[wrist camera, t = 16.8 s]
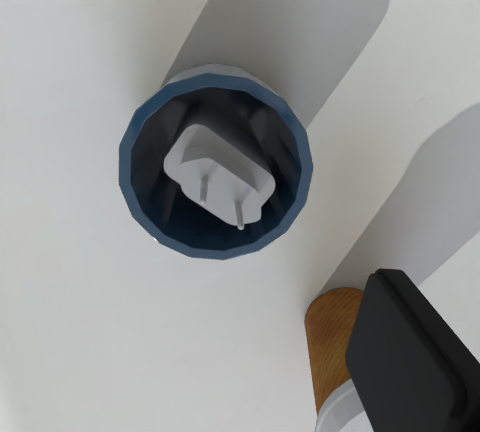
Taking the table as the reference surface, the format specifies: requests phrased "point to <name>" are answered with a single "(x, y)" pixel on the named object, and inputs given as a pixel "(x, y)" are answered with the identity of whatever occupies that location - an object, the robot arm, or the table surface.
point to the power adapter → (219, 166)
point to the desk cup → (170, 192)
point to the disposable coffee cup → (334, 361)
